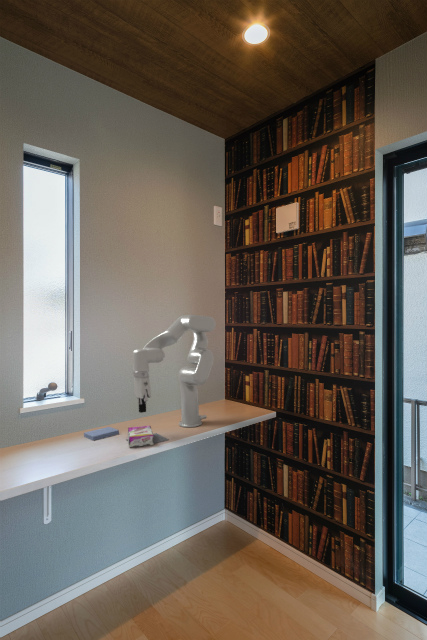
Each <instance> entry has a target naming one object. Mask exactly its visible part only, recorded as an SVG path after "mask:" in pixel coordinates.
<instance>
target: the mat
mask: <svg viewBox="0 0 427 640" xmlns="http://www.w3.org/2000/svg"><path fill="white" fill-rule="evenodd" d="M125 441H127V442H128V438H127V439H125ZM166 441H169V439H168V438H166V437H165V436H162V435H161V434H159V433H157V432H156V433H153V445H154V444H157V443H161V442H166ZM140 447H142V446H136V448H140Z"/></svg>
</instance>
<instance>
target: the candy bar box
mask: <svg viewBox="0 0 427 640" xmlns="http://www.w3.org/2000/svg"><path fill="white" fill-rule="evenodd" d="M153 434H154V433H153V430H152V427H151V425H141V426H132V427H130V426H129V427H127V439H128V441H127V442H128V447H129V448H133V447H136V446H141V447H144V446H153V445H154V444H153ZM136 448H137V447H136Z"/></svg>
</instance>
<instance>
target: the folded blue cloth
mask: <svg viewBox="0 0 427 640" xmlns="http://www.w3.org/2000/svg"><path fill="white" fill-rule="evenodd" d="M119 434H120V430H119V429H116V428H113V427H112V426H111V427H110V426H107V427H103V428H98V429H95V430H94V429H93V430H89V431H85V432H83V437H84V438H86V439H88V440H90V441H97V440H101V439H102V440H103V439H106V438H110V437H113V436H117V435H119Z"/></svg>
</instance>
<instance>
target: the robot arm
mask: <svg viewBox="0 0 427 640" xmlns="http://www.w3.org/2000/svg"><path fill="white" fill-rule="evenodd" d="M216 326H217V323H216V320H215V319H214V318H213V317H212V316H206V315H199V314H198V315H197V314H186V315H185V314H183V315H181V316H179V317H177V319H175V320H174V322H172V323H171V325H169V327H168V328H167V329H166V330H164V331H163V332H162V333H160V334H158V335H156V336H155V337H153V338H152V339H151V340H150V341H148V342H147V343H146V344H145V345H144V347H143V348H138V349H135V350H133V352H132V365H133V369H132V370H133V371H132V372H133V379H134V381H133V382H134V384H133V385H134V386H133V387H134V388H133V389H134V397H136V399H137V403H138V404H137V405H138V412H139V413H140V414H141V413H142V414H143V413H146V412H147V402H149V401H148V400H149V399H148V398H151V397H152V390H151V382H150V363H151V364H159V363H161V362H163V361H164V359H165V357H166V354H165V351H164V350H163V349H164V348H167V347H170V346H173V345H175V344H177V343H178V342H179V340H181V339H182V337H183V336H184V335H185V334H186V333H187V332H188V331H190V332H192V337H193V341H192V343H191V346H190V349H189V352H188V354H187V358H186V359H187V363H188V364H190V365H191V366H190V365H189V366H186V365H185V366H183V367H181V368H180V369H179V371H178V374H177V375H178V377H177V378H178V381H179V385H180V388H179V389H180V409H181V411H180V412H181V421H179V422H178V426H179V427H181V428H195V427H199V426H202V424H203V421H202V420H206V419H207V418H208V417H207V414H204V415H203V414H200V412H199V407H200V406H199V390H198V386H203V385H204V384H206V383H207V381H208V378H209V376H210V373H211V371H212V367H213V364H214V360H215V357H214V353H213V351H212V350H210V349H208V345H209V338H208V336H207V333H210V332H211V333H212V332H213V331H214V330H215V329H216Z"/></svg>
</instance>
